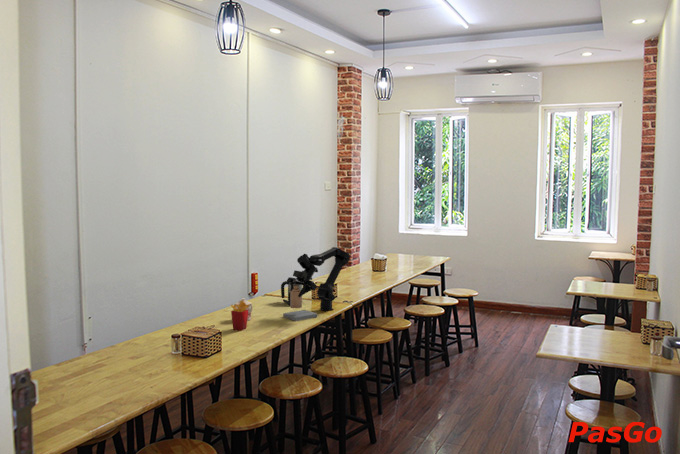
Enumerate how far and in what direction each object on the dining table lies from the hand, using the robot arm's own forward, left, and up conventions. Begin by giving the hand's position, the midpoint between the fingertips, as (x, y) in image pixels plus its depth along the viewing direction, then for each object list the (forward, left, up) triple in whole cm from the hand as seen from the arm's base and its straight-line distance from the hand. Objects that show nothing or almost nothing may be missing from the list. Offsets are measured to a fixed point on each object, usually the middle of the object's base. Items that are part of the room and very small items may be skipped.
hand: (294, 295), depth 306 cm
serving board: (-4, 0, -13) cm, 13 cm away
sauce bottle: (-1, 0, -7) cm, 7 cm away
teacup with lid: (+23, -15, -13) cm, 30 cm away
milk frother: (-21, -32, -13) cm, 40 cm away
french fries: (+35, +3, -13) cm, 37 cm away
